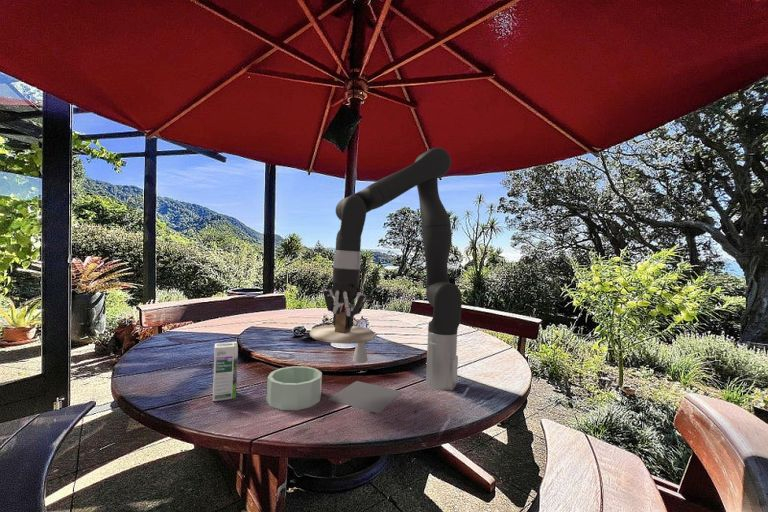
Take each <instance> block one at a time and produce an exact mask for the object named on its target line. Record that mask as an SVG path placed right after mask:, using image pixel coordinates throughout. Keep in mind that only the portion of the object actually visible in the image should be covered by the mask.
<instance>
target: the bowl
mask: <svg viewBox="0 0 768 512" xmlns="http://www.w3.org/2000/svg"><path fill="white" fill-rule="evenodd" d="M322 379H323V372H322V371H320V370H319V369H318V368H314V367H311V366H302V365H301V366H299V365H297V366H296V365H292V366H288V367H287V366H286V367H281V368H277V369H276V370H273V371H271V372H270V373H269V375H268V376H267V380H266V381H267V383H266V403H267V404H268V406H269V407H271V408H273V409H274V408H275V409H277V410H279V411H280V410H281V411H298V410H302V409H308V408H312V407H313V406H315V405H317V403H318V404H319V402H320V400H321V398H322V382H323V381H322Z"/></svg>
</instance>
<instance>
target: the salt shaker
mask: <svg viewBox="0 0 768 512" xmlns="http://www.w3.org/2000/svg"><path fill="white" fill-rule="evenodd" d="M367 352H368V351H367V345H366V342H362V343H355V348H354V352H353V357H352V361H354V362H358V363H365V362H367V361H368V362H369V359H368V353H367ZM366 372H367V370H366V371H360V372H358V373H359V374H362V373H363V374H364V373H366ZM358 373H357V374H358Z"/></svg>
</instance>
